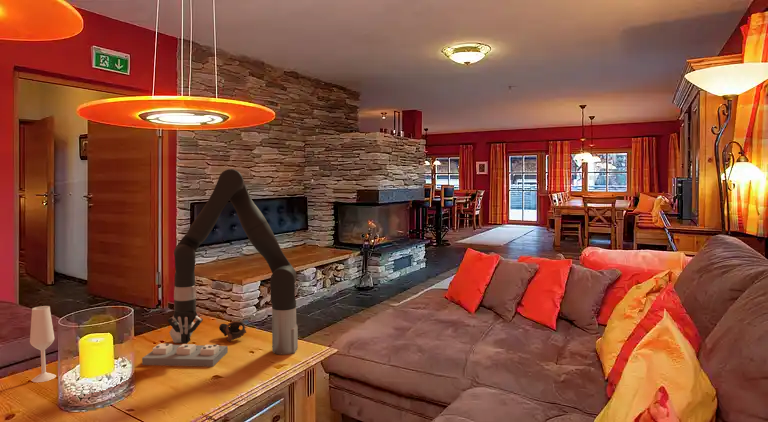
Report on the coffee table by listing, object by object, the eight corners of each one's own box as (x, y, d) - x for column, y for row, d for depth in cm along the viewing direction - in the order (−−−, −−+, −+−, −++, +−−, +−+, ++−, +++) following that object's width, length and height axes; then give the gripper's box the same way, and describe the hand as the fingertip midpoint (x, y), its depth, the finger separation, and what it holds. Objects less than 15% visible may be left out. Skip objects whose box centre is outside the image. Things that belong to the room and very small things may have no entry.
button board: (227, 352, 185) (227, 345, 185) (213, 366, 171) (213, 359, 171) (162, 350, 186) (161, 344, 186) (142, 364, 172) (142, 358, 172)
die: (181, 348, 191) (195, 326, 194) (162, 337, 191) (177, 316, 194) (185, 348, 199) (199, 327, 202) (167, 338, 199) (181, 317, 202)
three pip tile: (219, 352, 180) (219, 344, 180) (213, 357, 175) (213, 348, 175) (206, 352, 180) (206, 343, 180) (200, 357, 175) (200, 348, 175)
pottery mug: (249, 335, 206) (250, 322, 202) (239, 351, 198) (240, 338, 194) (223, 327, 207) (223, 314, 203) (212, 343, 199) (212, 329, 195)
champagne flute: (61, 374, 163) (58, 305, 161) (43, 383, 156) (40, 311, 155) (44, 373, 164) (41, 304, 162) (26, 381, 157) (23, 310, 156)
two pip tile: (172, 351, 181) (172, 343, 181) (166, 356, 176) (165, 347, 176) (159, 351, 181) (159, 342, 181) (152, 356, 176) (152, 347, 176)
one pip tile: (195, 352, 181) (195, 343, 180) (189, 357, 176) (189, 348, 175) (182, 351, 181) (182, 343, 181) (176, 356, 176) (176, 348, 176)
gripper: (206, 295, 180) (207, 340, 182) (172, 294, 181) (173, 339, 182) (198, 300, 173) (198, 347, 174) (162, 299, 174) (163, 346, 175)
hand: (185, 343), depth 178 cm, fingers closed
